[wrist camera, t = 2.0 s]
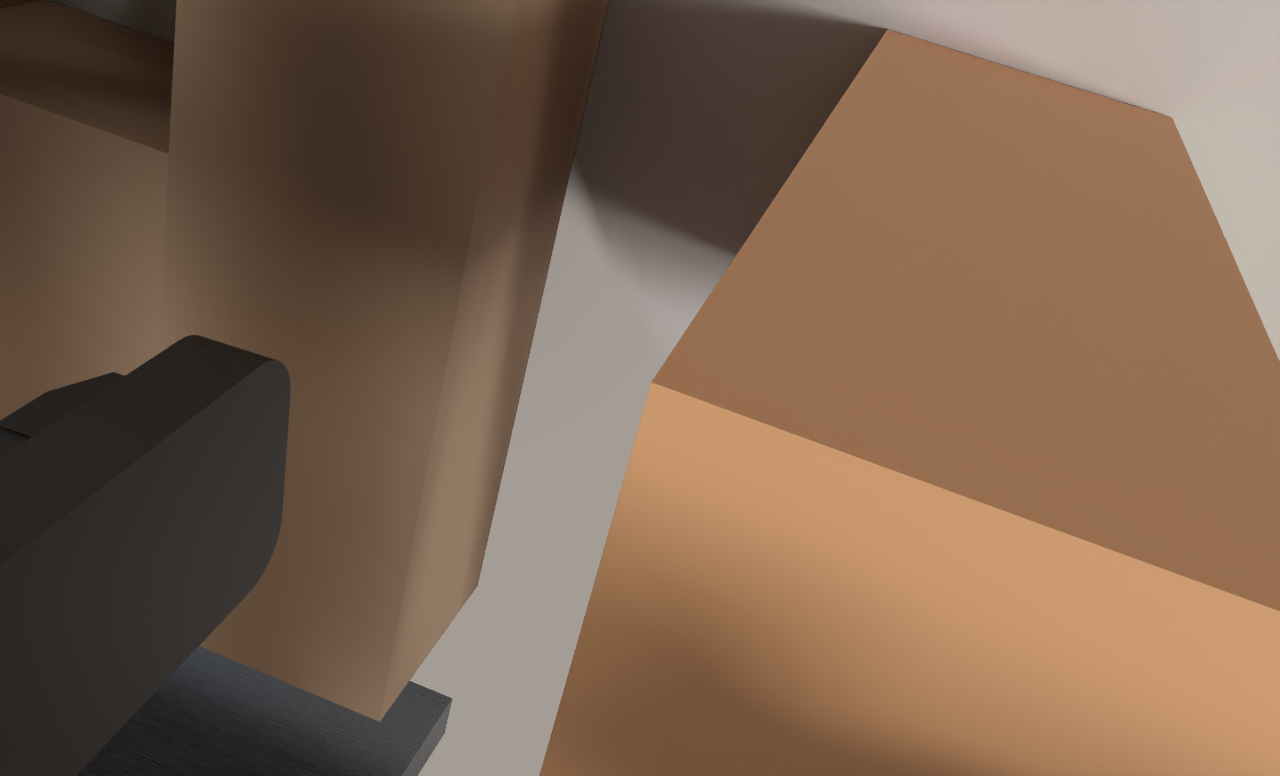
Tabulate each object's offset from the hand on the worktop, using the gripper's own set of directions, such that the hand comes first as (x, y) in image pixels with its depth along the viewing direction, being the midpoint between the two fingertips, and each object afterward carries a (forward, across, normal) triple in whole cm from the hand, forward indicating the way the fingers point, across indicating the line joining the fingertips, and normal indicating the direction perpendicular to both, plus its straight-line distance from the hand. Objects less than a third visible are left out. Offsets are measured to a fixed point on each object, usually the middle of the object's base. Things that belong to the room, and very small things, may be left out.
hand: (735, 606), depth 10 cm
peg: (+10, -2, -1) cm, 10 cm away
